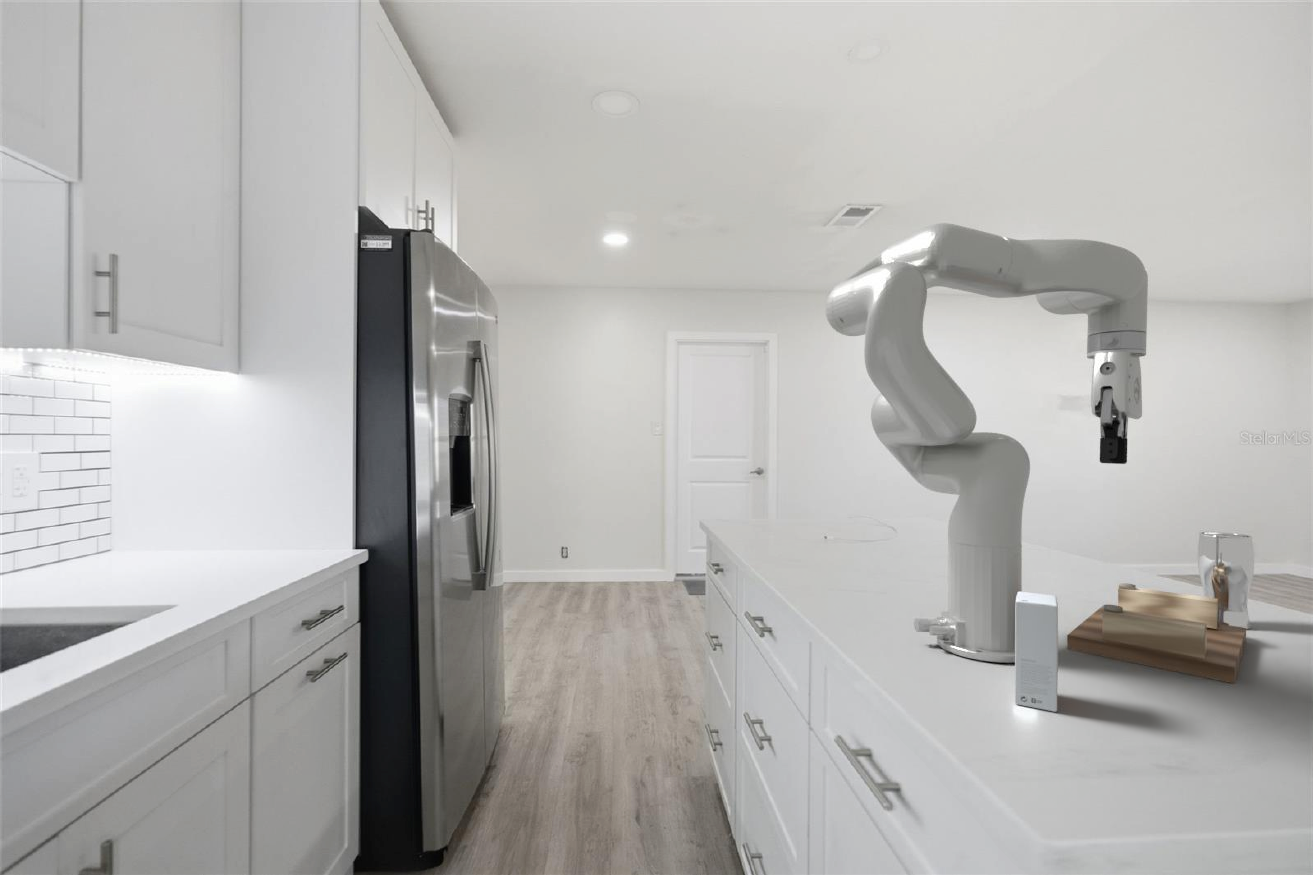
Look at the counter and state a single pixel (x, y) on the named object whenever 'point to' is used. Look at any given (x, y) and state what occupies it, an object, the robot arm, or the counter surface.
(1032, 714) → the counter surface
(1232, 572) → the beer glass
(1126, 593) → the hinged leg
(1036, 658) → the skincare box
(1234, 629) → the stool frame
